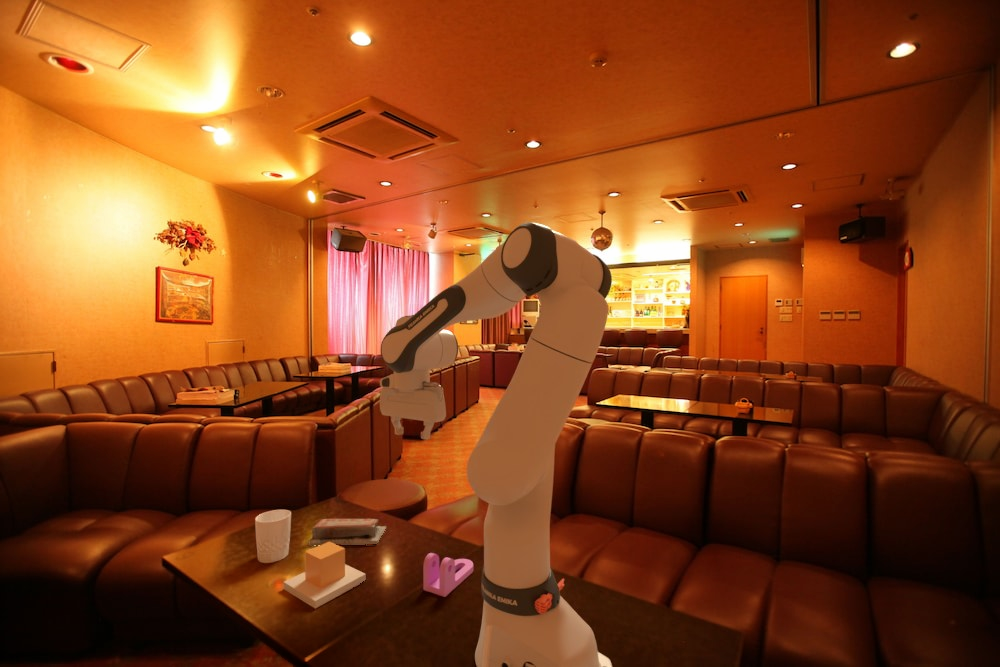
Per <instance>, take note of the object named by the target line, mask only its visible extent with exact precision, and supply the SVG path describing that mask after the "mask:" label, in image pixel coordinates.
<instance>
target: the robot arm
mask: <svg viewBox="0 0 1000 667" xmlns="http://www.w3.org/2000/svg"><path fill="white" fill-rule="evenodd" d="M608 266H609V265H607V264H606V263H605V262H604V261H603V259H602V258H601V257H600V256H598V255H596V254H594V253H592V252H591V251H589V250H588V249H586V248H585V247H583V246H582V245H581V244H579V243H578V242H577V241H576V240H574V239H573V238H571V237H569V236H566V234H562V233H560V232H557V231H555V230H553V229H552V228H550V227H549V226H548V225H545V224H540V223H537V222H528V221H527V222H523V223H522V224H519V225H518V226H516V227H515V228H514V229H513V230H512V231H511V232H510V233H509V234H508V236H507V237H506V239H505V241H504V242H502V243H501V244H500V245H499V246H497V248H496V249H494V250H493V251H492V252H491V253H490V254H488V256H487V257H486V258H485V259H484V260H483V261H482V262H481V263H480V264H479V265H478V266H477V267H476V268H475V269H473V270H472V271H471V272H470V273H468V274H467V275H466V276H465V277H463V278H462V279H460V280H459V281H457V282H456V283H454V284H452V285H450V286H449V287H447V288H445V289H444V290H442V291H441V292H439V293H438V294H437V295H435V296H434V297H432V299H431V300H429V301H428V302H427V303H426V304H425V305H424V306H422V307H421V308H420V309H419V310H418V311H417V312H416V313H415V314H412V315H405V316H401V317H399V318H398V319H397V320H396V322H395V326H393V327H392V328H390V330H388V331H387V332H386V334H385V336H384V337H383V339H382V341H381V344H380V356H381V358H382V360H383V362H384V363H385V365H386V366H387V367H388V368H389V369H390V370H392V371H393V373H391V374H390V375H387V376H385V377H382V378H381V379H380V380H379V387H380V388H381V389H380V392H379V411H380V412H381V415H382V416H386V417H387V416H388V417H390V422H391V423H392V426H393V428H394V435H397V436H401V435H404V432H405V431H404V430H405V428H404V426H402V424H401V421H400V420H402V419H407V420H408V419H409V420H415V421H422V422H423V426H424V429H423V431H421V432H420V438H421V440H426V441H427V440H430V438H431V432H432V430H433V427H434V425H435V423H438V422H439V423H440V422H443V421H444V420H445V419H446V417H447V409H446V400H445V396H444V387H442V386H441V385H440V383H439V382H431V381H430V379H431V376H430V375H431V374H430V373H431V372H430V371H431V370H438V369H445V368H448V367H451V366H452V365H453V364H454V363H455V362H456V360H457V358H458V355H459V344H458V338H456V335H455V334H454V333H453V332H452V331H451V330H449V329H446V328H448V327H450V326H452V325H455V324H458V323H462V322H463V323H464V322H468V321H476V320H487V319H493V318H495V319H496V318H499V317H500V316H502V315H503V314H506V313H507V312H509V311H510V310H512V309H513V308H514V307H516V306H517V305H518V304H519V303H520V302H521V301H522V300H523V299H524V298H526V296H528V297H529V296H534V295H536V297H537V298H538V300H539V302H540V311H539V316H538V317H537V321H536V322H535V324H534V327H533V329H532V331H531V333H530V336H529V338H528V341H527V343H526V345H525V348H524V350H523V352H522V355H521V357H520V359H519V361H518V364H517V366H516V369H515V371H514V373H513V375H512V377H511V380H510V382H509V384H508V385H507V387H506V390H505V391H504V393H503V394H502V396H501V398H500V400H499V402H498V403H497V405H496V407H495V408H494V411H493V413H491V415H490V418H489V420H488V422H487V424H486V425H485V427H484V430H483V432H482V434H481V436H480V437H479V439H478V441H477V442H476V444H475V446H474V447H473V449H472V452H471V453H470V455H469V457H468V460H467V465H466V478H467V481H468V483H469V486H470V488H471V489H472V491H473V493H474V494H475V495H476V496H477V498H479V499H480V500H481V501H484V502H485V503H488V506H487V509H486V510H487V511H486V514H485V518H484V522H483V562H484V563H483V566H482V570H481V596H482V598H483V604H482V605H483V606H482V619H481V624H480V625H481V626H480V632H479V637H478V640H477V641H478V642H477V645H476V647H475V653H474V661H475V665H476V667H613V665H612V662H611V659H610V658H609V657H607V656H606V655H604V654H602V653H601V652H599V650H598V644H597V640H596V638H595V634H594V631H593V629H592V627H590V625H589V624H588V623H587V622H586V621H585V620H584V619H583V618H582V617H581V616H580V615H579V614H578V613H577V612H576V611H575V610H574V609H573V607H572V606H571V605H570V604H569V603H568V602H567V601H566V600H565V599H564V598H563V596H561V592H560V591H562V589H563V588H564V587H565V583H564V582H565V578H564V577H563V578H562V579H561V580H560V581H559V582H558V583H557V581H556V578H555V575H554V572H553V569H552V568H551V551H550V550H551V543H550V541H551V538H550V536H551V535H550V532H551V530H550V527H551V526H550V524H551V523H550V522H551V512H552V501H553V492H554V491H553V489H554V488H553V487H554V477H555V476H554V474H555V452H556V451H555V450H556V444H557V442H558V439H559V437H560V434H561V432H562V431H563V429H564V427H565V424H566V423H567V420H568V418H569V417H570V415H571V412H572V411H573V409H574V407H575V405H576V402H577V399H578V398H579V396H580V393H581V390H582V389H583V386H584V384H585V381H586V379H587V377H588V374H589V372H590V369H591V368H592V365H593V363H594V361H595V359H596V356H597V354H598V350H599V348H600V345H601V342H602V340H603V336H604V331H605V328H606V324H607V320H608V314H609V305H608V303H607V302H608V301H607V299H606V298H607V297H608V295H609V293H610V291H611V288H612V281H613V276H612V273H611V270H610V268H609V267H608Z"/></svg>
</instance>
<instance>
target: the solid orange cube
mask: <svg viewBox="0 0 1000 667" xmlns="http://www.w3.org/2000/svg"><path fill="white" fill-rule="evenodd" d="M304 555H305V557H304V560H305V561H304V562H305V564H304V568H305V569H304V570H305V571H304V572H305V580H307V581H308V582H310V583H312V584H314V585H315V586H317V587H319V588H323V587H325V586H327V585H329V584H331V583H333V582H335V581H336V580H338V579H340V578H342V577H344V576H345V564H346V548H345V547H344V546H339V545H336V544H334V543H332V542H327V543H325V544H322V545H320V546H314V548H311V549H309V550H306V551H305V554H304Z"/></svg>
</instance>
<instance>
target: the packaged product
mask: <svg viewBox="0 0 1000 667" xmlns="http://www.w3.org/2000/svg"><path fill="white" fill-rule="evenodd" d="M378 523H379V519H377V518H324V519H323V518H321V519H320V520H319V521H318V522H317V523H316V524H315V525H314V526H313V527H312V528H311V530H312V531H311V533H312V534H311V535H312V536H311V539H310V540H309V541H308V546H309V545H310V546H309V547H314V546H313V545H322V544H325V543H327V542H332V543H334V544H341V545H365V544H366V546H368V545H367V544H377V543H378V544H379V542H380V541H379V540H381V539H382V537H383V536H384V534H385V532H386V530H387V525H383V526H381V525H378ZM385 529H386V530H385ZM384 531H385V532H384ZM383 533H384V534H383ZM382 535H383V536H382ZM381 536H382V537H381ZM380 538H381V539H380ZM378 544H377V545H378Z"/></svg>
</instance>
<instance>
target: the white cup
mask: <svg viewBox="0 0 1000 667" xmlns="http://www.w3.org/2000/svg"><path fill="white" fill-rule="evenodd" d="M254 521H255V522H254V523H255V540H256V550H257V554H256V555H257V561H258V562H259V563H262V564H263V563H264V564H270V563H271V564H272V563H275V562H276V563H277V562H279V561H281V560H283V559H285V558H286V557H287V556H289V553H290V542H291V539H290V538H291V527H292V526H291V524H292V511H291V510H288V509H275V510H274V509H272V510H269V511H265V512H262V513H260V514H259V515H257V516H255V518H254Z"/></svg>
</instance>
